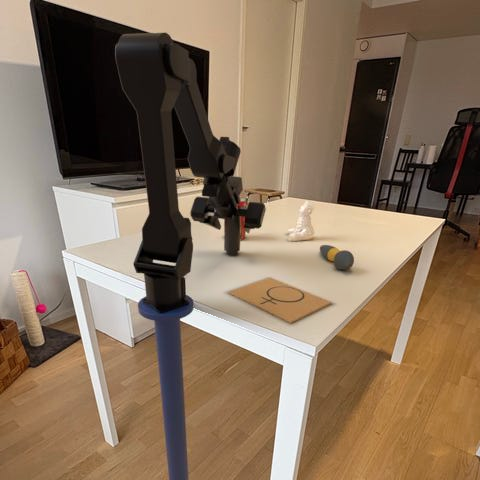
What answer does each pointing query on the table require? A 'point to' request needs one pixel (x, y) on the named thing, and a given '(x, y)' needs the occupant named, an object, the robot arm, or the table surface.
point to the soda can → (242, 234)
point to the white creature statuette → (303, 224)
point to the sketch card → (280, 299)
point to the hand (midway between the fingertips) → (234, 230)
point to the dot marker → (232, 236)
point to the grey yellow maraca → (338, 257)
